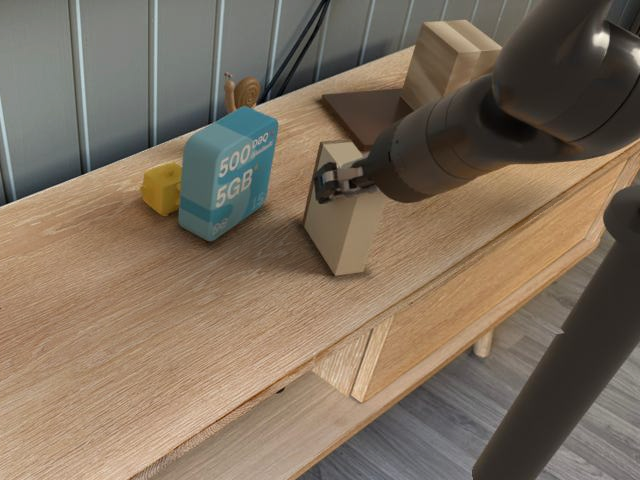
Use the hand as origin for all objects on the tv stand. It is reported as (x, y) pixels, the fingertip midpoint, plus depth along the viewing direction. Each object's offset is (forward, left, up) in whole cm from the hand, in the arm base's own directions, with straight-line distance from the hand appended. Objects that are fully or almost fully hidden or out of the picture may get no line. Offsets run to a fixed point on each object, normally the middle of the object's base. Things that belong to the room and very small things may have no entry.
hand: (345, 191), depth 78 cm
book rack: (-23, -27, -7) cm, 36 cm away
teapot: (+17, -11, -8) cm, 21 cm away
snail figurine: (+5, -22, -8) cm, 24 cm away
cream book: (0, 0, -7) cm, 7 cm away
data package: (+11, -8, -8) cm, 15 cm away
